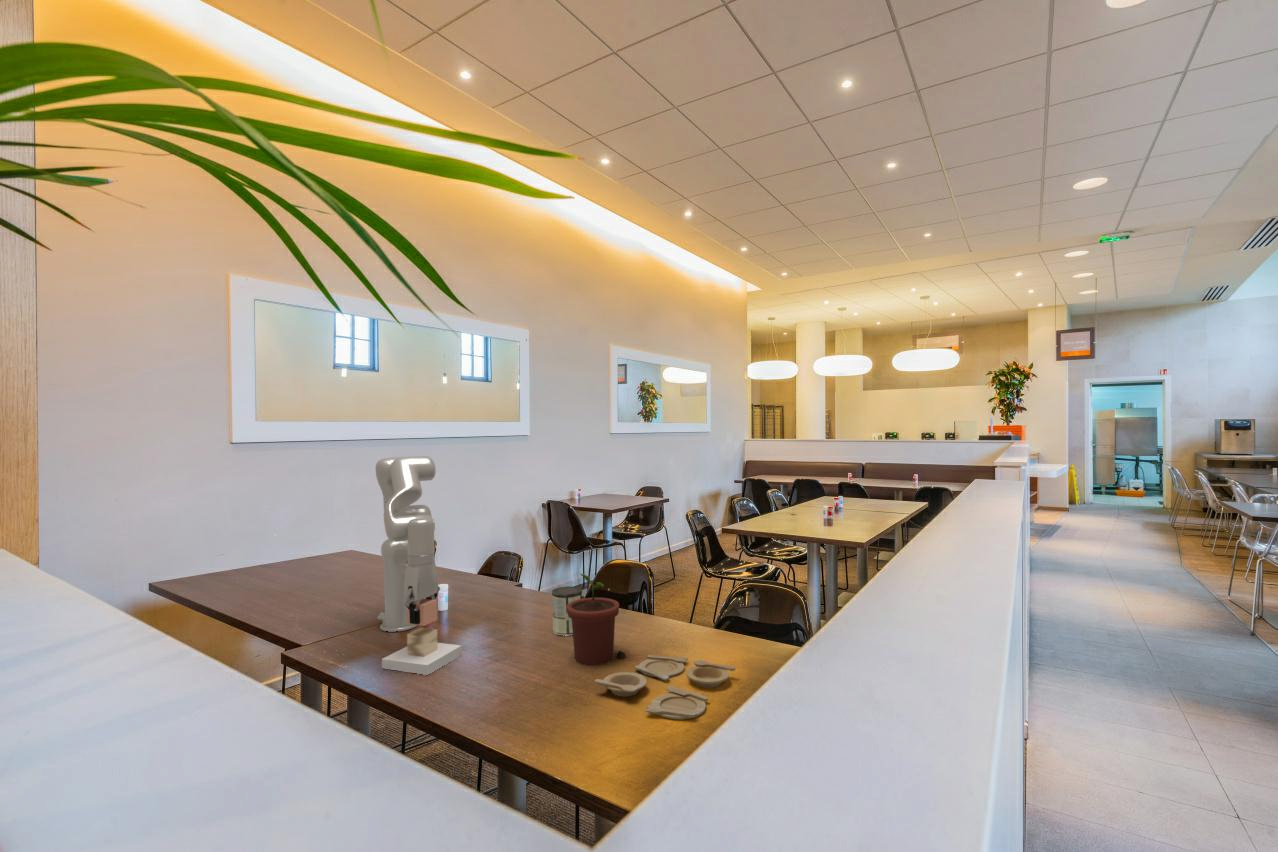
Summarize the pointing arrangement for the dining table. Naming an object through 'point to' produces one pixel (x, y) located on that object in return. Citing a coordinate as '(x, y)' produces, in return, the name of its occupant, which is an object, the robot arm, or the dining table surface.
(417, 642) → the brass cube
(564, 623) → the coffee can
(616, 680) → the tableware set
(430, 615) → the terracotta cube
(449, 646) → the grey base board
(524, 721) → the dining table surface
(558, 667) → the dining table surface
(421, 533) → the robot arm
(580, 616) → the potted plant
